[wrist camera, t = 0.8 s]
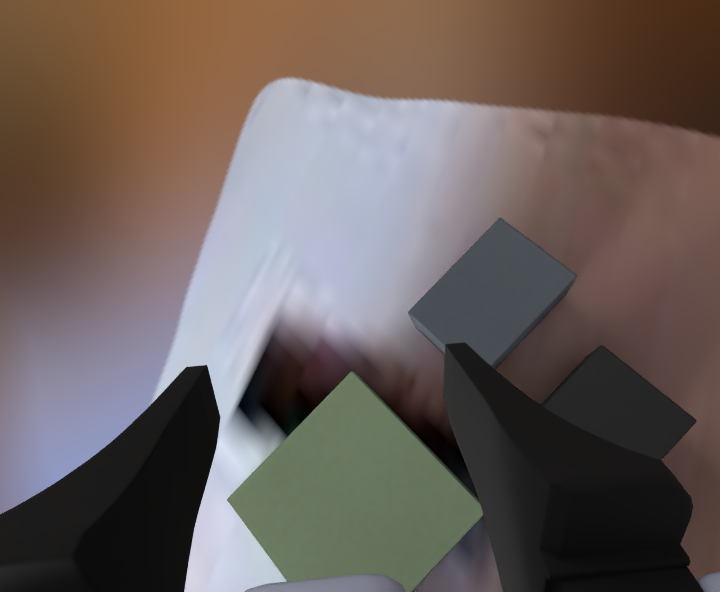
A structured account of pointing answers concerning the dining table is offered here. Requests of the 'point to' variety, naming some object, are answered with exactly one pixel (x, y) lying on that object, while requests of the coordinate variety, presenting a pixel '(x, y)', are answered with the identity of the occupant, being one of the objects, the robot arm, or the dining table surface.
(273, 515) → the base pad
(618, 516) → the robot arm
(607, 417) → the black rectangular block
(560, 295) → the grey block
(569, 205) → the dining table surface
